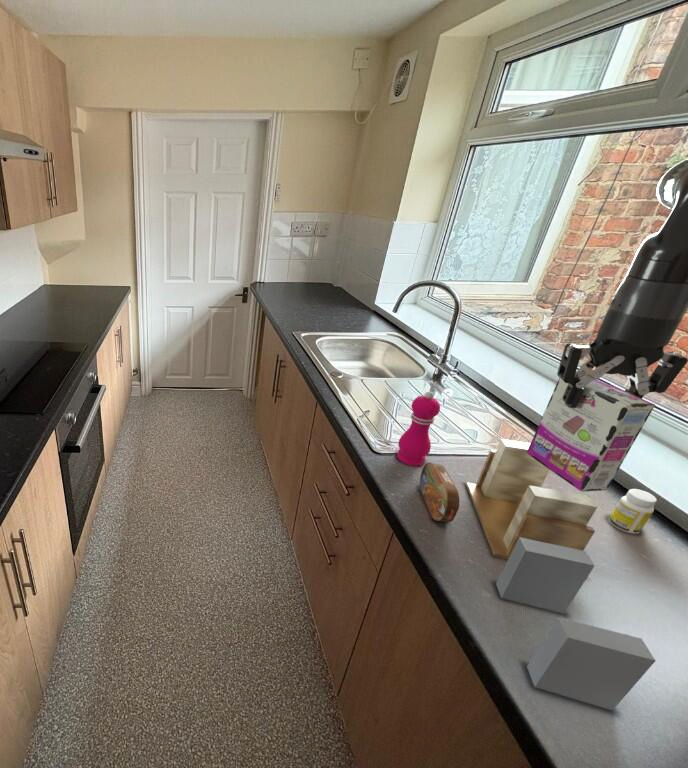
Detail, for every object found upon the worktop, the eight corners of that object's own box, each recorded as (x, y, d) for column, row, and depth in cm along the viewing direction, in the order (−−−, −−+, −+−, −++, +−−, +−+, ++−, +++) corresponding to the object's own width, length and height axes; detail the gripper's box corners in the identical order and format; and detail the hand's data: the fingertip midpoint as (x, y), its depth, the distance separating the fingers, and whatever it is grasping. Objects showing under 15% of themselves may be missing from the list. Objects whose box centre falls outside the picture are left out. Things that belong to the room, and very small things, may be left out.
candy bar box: (609, 490, 68) (659, 404, 61) (580, 493, 68) (627, 406, 61) (549, 450, 78) (586, 372, 71) (524, 452, 78) (558, 374, 71)
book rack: (535, 498, 95) (562, 444, 88) (582, 577, 76) (620, 516, 70) (465, 485, 99) (485, 432, 92) (493, 556, 81) (521, 497, 74)
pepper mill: (424, 471, 104) (447, 402, 95) (393, 462, 107) (411, 394, 98) (426, 456, 109) (448, 389, 100) (396, 448, 113) (414, 382, 104)
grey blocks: (555, 599, 73) (585, 551, 67) (611, 711, 57) (655, 660, 52) (495, 584, 75) (519, 536, 70) (533, 688, 60) (567, 637, 55)
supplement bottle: (633, 521, 88) (653, 491, 84) (644, 537, 84) (665, 506, 81) (604, 515, 90) (622, 484, 86) (613, 530, 86) (632, 499, 82)
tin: (416, 482, 100) (425, 454, 96) (430, 484, 100) (440, 456, 96) (436, 529, 87) (447, 498, 83) (453, 531, 86) (465, 501, 83)
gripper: (597, 312, 59) (551, 413, 66) (733, 321, 55) (668, 428, 62) (572, 299, 65) (533, 392, 73) (692, 305, 61) (637, 404, 69)
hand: (595, 408), depth 67 cm, fingers closed on candy bar box, 6 cm apart
